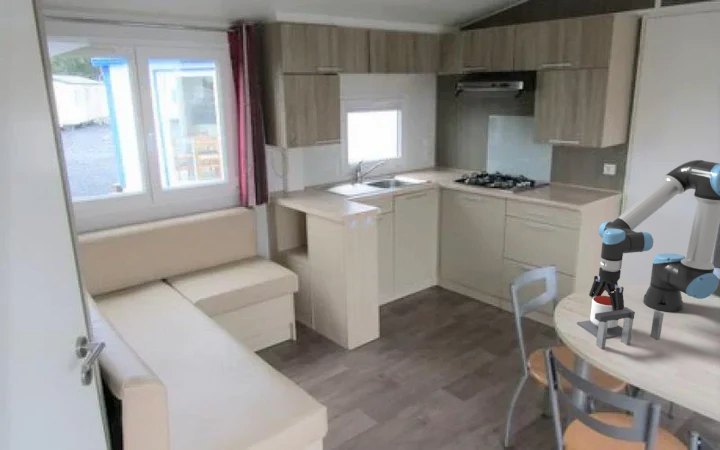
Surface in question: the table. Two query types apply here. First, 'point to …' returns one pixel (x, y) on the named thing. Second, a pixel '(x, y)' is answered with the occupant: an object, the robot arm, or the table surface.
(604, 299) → the cup
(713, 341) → the table surface
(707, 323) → the table surface
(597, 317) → the bar
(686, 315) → the table surface
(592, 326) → the mat
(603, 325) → the posts
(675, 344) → the table surface
